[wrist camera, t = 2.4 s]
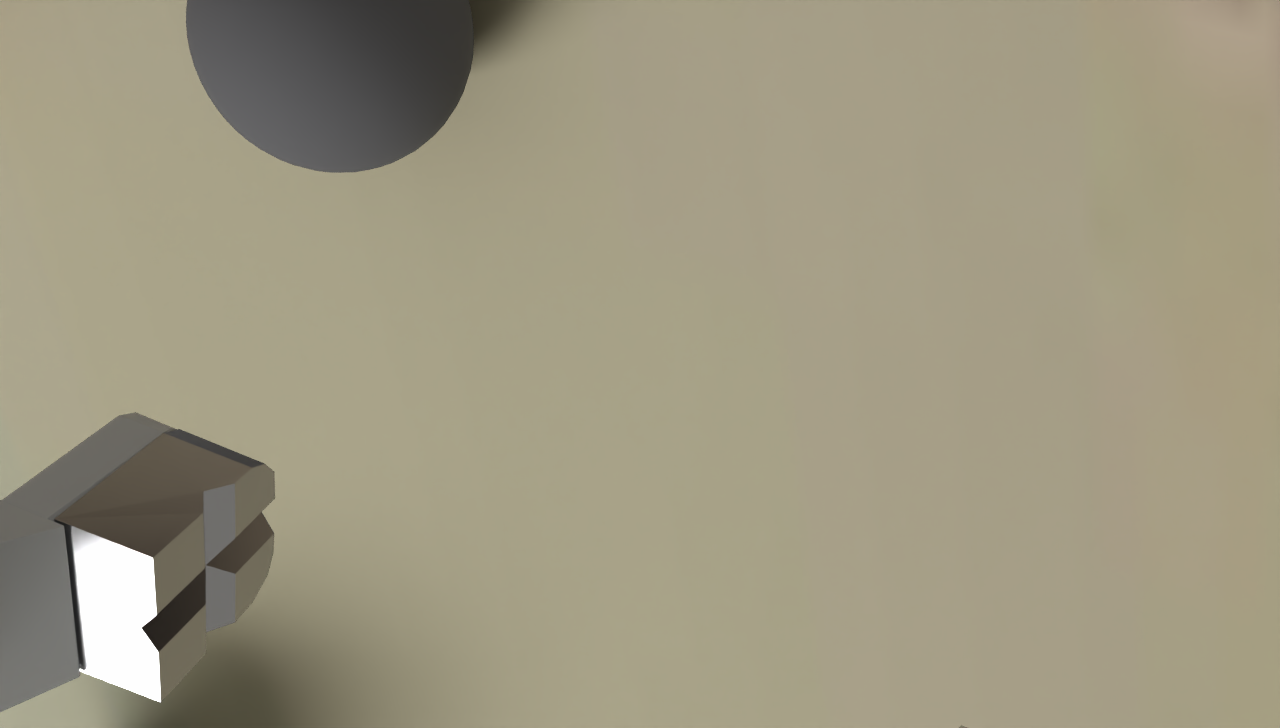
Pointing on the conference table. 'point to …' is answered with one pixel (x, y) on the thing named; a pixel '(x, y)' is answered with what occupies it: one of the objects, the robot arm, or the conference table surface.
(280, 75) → the dark gray ball
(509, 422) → the conference table surface
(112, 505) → the robot arm
